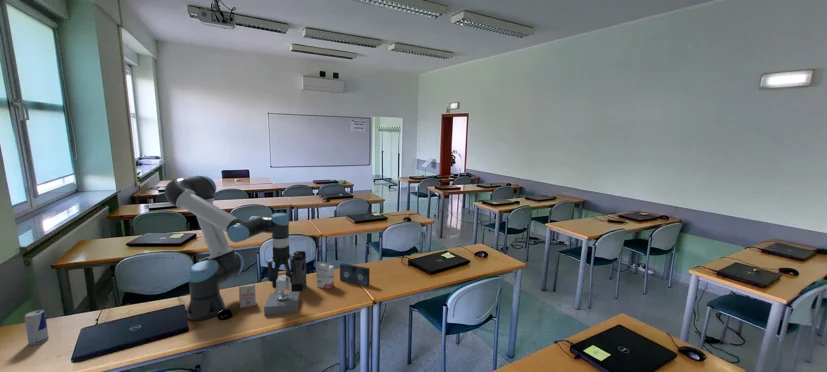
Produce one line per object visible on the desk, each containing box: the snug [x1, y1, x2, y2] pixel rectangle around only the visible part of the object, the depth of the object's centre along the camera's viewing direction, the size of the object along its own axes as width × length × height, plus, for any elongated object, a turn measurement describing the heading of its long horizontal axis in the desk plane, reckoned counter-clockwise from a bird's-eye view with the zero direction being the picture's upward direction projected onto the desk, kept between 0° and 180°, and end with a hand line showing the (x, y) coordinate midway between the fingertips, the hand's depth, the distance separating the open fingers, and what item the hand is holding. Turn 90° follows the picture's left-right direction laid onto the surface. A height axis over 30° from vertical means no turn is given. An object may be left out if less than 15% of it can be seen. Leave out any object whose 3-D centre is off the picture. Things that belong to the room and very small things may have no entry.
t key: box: [277, 270, 288, 300], centre depth 161 cm, size 11×5×12 cm, turn 22°
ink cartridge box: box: [315, 261, 335, 290], centre depth 185 cm, size 9×5×15 cm, turn 73°
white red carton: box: [238, 284, 257, 309], centre depth 162 cm, size 4×7×10 cm, turn 113°
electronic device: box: [290, 250, 307, 293], centre depth 181 cm, size 9×6×20 cm, turn 179°
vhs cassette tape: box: [339, 262, 370, 287], centre depth 191 cm, size 18×3×10 cm, turn 68°
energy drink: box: [24, 309, 49, 346], centre depth 130 cm, size 5×5×12 cm
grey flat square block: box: [263, 291, 301, 316], centre depth 162 cm, size 14×14×4 cm
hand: (282, 291), depth 162 cm, fingers closed on t key, 5 cm apart
